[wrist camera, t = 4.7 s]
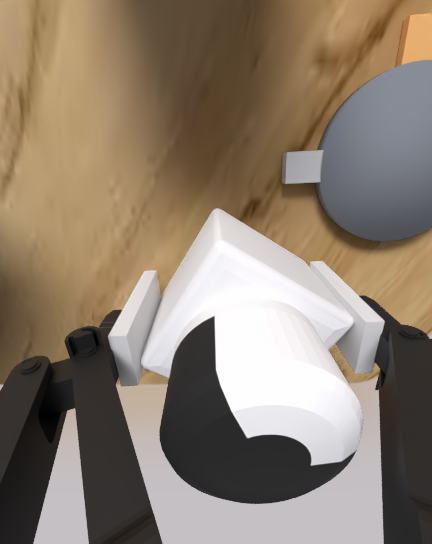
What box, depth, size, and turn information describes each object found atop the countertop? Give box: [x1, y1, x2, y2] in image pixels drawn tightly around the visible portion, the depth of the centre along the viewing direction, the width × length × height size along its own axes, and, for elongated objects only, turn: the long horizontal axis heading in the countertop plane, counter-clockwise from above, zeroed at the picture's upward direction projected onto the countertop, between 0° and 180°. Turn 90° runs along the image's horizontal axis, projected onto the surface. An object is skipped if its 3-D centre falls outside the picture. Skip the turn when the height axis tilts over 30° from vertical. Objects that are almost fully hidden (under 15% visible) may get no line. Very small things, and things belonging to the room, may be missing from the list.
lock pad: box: [282, 13, 432, 241], centre depth 18 cm, size 16×13×1 cm
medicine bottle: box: [141, 208, 363, 504], centre depth 13 cm, size 7×7×12 cm
